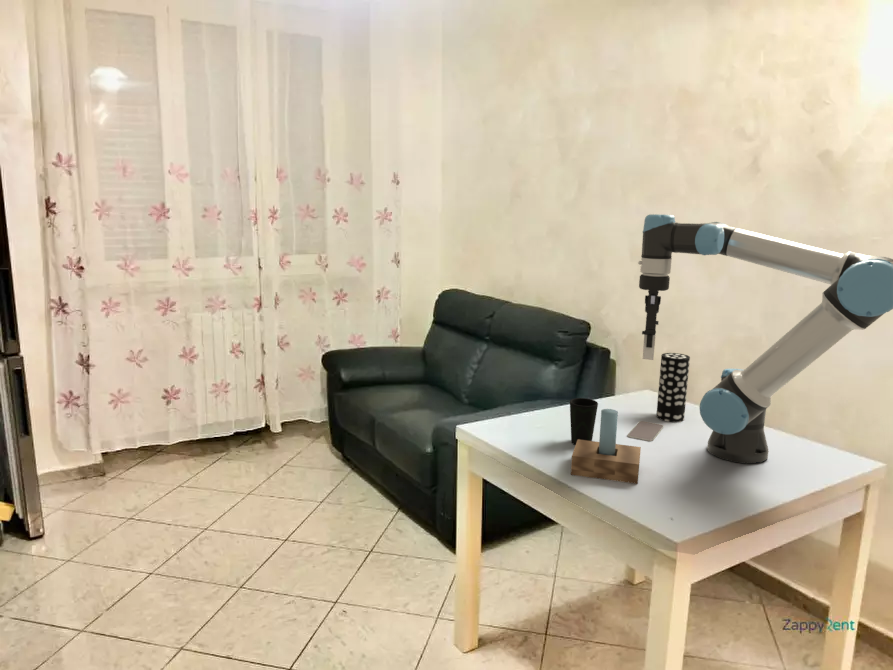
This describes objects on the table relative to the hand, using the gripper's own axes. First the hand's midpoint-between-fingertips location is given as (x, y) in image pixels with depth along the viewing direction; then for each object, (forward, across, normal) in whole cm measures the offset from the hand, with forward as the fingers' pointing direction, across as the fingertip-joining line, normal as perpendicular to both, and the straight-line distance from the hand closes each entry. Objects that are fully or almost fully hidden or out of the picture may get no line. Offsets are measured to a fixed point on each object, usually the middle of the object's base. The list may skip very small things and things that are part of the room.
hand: (648, 353), depth 177 cm
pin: (+25, +19, -8) cm, 33 cm away
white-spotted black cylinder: (+27, -30, +8) cm, 41 cm away
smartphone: (+27, -14, +1) cm, 31 cm away
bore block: (+27, +19, -8) cm, 34 cm away
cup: (+27, +2, -16) cm, 31 cm away
